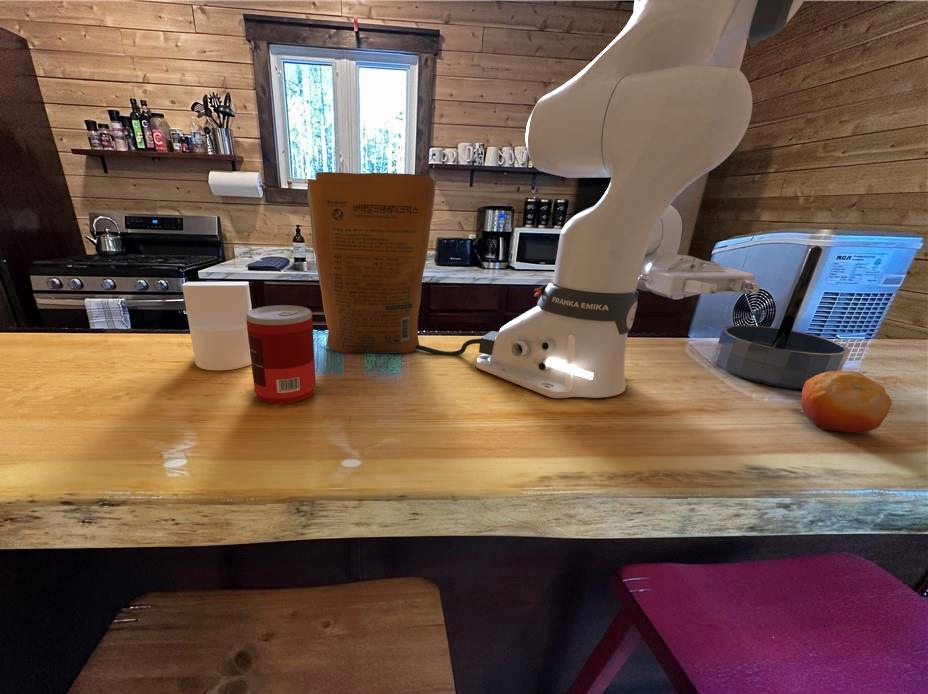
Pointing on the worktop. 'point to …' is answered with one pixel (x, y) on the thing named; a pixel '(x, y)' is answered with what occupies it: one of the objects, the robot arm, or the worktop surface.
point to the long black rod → (797, 296)
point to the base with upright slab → (218, 323)
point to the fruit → (844, 402)
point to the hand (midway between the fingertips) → (734, 289)
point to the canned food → (282, 353)
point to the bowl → (777, 355)
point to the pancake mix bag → (371, 256)
